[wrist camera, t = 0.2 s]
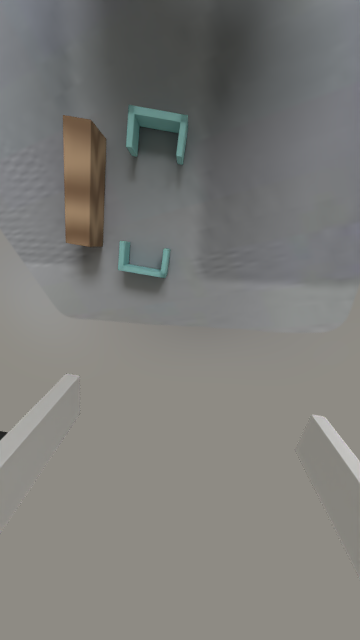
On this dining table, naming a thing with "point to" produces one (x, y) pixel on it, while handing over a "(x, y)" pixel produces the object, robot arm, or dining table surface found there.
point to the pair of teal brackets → (135, 120)
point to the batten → (84, 181)
